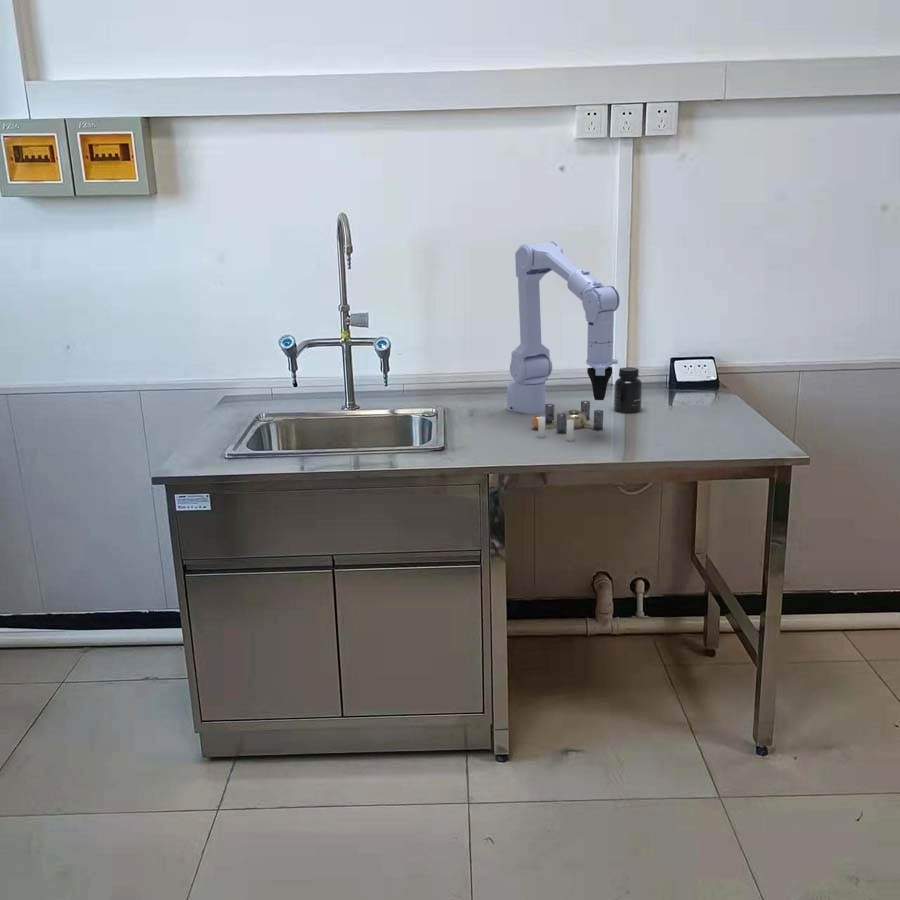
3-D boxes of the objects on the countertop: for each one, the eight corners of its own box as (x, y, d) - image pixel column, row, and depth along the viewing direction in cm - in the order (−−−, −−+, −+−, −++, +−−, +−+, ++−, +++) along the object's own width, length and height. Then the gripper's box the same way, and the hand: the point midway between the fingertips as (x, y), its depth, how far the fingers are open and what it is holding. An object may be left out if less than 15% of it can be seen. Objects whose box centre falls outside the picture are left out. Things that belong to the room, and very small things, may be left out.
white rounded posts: (537, 438, 206) (537, 417, 205) (548, 431, 211) (549, 411, 209) (570, 443, 202) (570, 422, 200) (581, 436, 206) (582, 416, 205)
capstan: (529, 429, 212) (529, 411, 211) (558, 414, 225) (558, 397, 223) (588, 438, 204) (588, 419, 203) (615, 421, 216) (615, 404, 215)
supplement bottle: (641, 418, 223) (642, 372, 219) (613, 418, 224) (614, 371, 220) (640, 411, 229) (642, 366, 225) (614, 410, 230) (615, 365, 227)
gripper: (619, 347, 192) (617, 407, 196) (617, 334, 206) (615, 391, 210) (586, 347, 193) (585, 407, 197) (586, 335, 207) (585, 391, 211)
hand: (599, 399), depth 204 cm, fingers closed
